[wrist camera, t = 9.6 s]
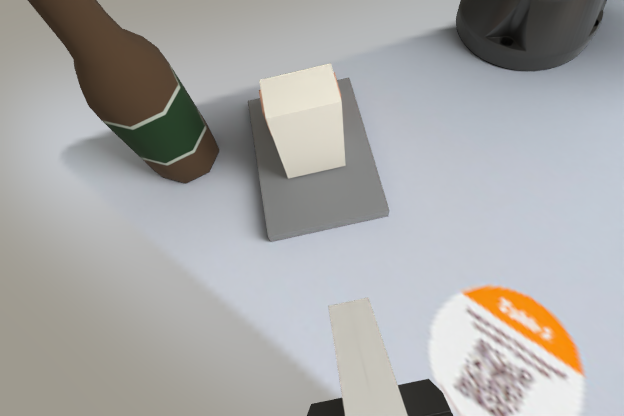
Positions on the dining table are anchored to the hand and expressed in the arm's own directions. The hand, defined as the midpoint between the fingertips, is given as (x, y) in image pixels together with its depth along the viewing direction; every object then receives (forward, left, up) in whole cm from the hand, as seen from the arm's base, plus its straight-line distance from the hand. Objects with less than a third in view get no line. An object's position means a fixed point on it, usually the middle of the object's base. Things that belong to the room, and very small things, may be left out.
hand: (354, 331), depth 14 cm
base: (0, -20, -20) cm, 28 cm away
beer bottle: (+14, -24, -20) cm, 34 cm away
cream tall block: (0, -19, -18) cm, 27 cm away
